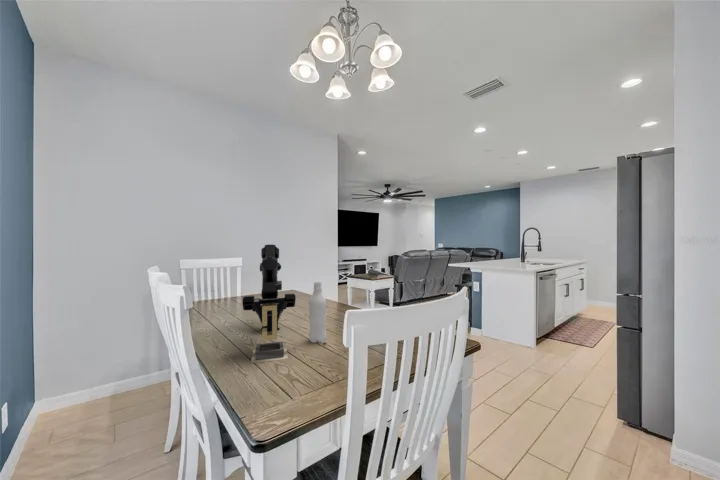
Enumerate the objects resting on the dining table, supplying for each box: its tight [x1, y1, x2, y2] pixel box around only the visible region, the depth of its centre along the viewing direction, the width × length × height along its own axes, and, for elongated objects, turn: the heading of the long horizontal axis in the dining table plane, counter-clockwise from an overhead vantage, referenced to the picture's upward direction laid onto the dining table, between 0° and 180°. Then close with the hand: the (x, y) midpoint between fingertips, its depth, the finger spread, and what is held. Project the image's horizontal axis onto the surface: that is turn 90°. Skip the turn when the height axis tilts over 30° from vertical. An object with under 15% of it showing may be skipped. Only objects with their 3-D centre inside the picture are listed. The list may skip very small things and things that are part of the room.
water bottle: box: [308, 281, 328, 344], centre depth 117 cm, size 7×7×25 cm
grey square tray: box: [250, 341, 289, 364], centre depth 103 cm, size 12×12×4 cm
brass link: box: [261, 303, 278, 341], centre depth 103 cm, size 4×5×12 cm
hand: (269, 322), depth 101 cm, fingers closed on brass link, 5 cm apart
